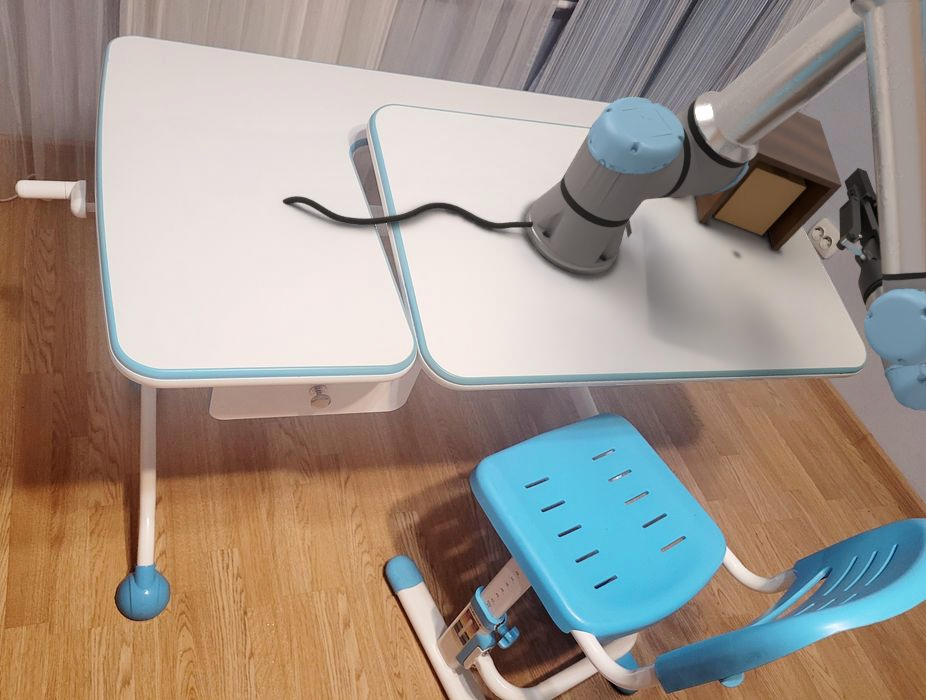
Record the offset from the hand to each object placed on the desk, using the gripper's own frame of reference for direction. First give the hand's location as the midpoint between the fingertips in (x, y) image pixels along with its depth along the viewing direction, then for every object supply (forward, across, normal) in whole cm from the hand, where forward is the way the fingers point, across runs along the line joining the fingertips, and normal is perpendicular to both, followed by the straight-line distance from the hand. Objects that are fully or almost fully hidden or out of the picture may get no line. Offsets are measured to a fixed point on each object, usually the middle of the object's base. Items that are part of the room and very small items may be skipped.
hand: (855, 176), depth 110 cm
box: (+21, 0, -25) cm, 33 cm away
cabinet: (+20, 0, -25) cm, 32 cm away
